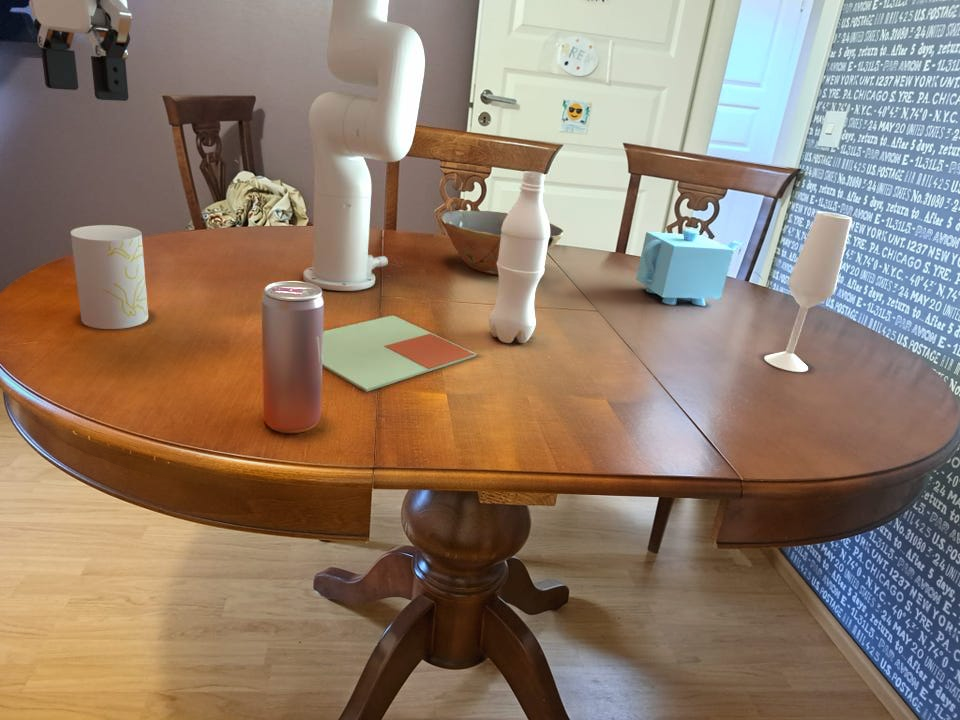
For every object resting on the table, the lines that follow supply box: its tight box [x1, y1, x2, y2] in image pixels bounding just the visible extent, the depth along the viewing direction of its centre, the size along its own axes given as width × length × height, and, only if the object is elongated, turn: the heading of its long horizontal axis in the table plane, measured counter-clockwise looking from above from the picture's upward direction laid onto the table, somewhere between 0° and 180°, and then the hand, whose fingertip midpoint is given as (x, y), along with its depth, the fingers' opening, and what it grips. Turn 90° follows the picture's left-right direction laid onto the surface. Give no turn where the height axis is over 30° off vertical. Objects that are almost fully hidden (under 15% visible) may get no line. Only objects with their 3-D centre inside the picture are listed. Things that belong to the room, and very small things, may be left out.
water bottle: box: [488, 170, 550, 344], centre depth 98 cm, size 7×7×25 cm
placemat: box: [322, 314, 478, 393], centre depth 92 cm, size 20×18×1 cm
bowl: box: [439, 210, 564, 276], centre depth 136 cm, size 25×25×10 cm
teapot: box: [635, 228, 745, 306], centre depth 133 cm, size 22×11×14 cm, turn 105°
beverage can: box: [261, 280, 325, 434], centre depth 69 cm, size 6×6×15 cm
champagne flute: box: [763, 211, 853, 373], centre depth 102 cm, size 7×7×24 cm
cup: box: [70, 224, 149, 330], centre depth 89 cm, size 8×8×12 cm
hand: (86, 94), depth 71 cm, fingers open, 9 cm apart
